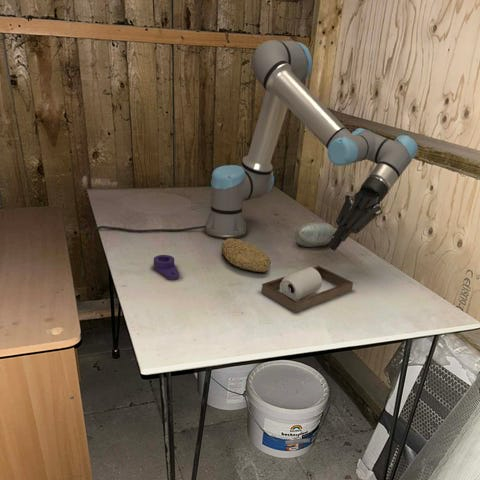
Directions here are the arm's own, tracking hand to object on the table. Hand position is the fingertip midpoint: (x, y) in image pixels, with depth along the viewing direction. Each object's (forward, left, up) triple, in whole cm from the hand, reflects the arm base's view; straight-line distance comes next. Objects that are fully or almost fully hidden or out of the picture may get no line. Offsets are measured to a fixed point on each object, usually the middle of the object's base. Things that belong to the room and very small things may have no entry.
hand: (331, 247), depth 140 cm
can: (-4, -4, -9) cm, 10 cm away
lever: (-49, -2, -13) cm, 50 cm away
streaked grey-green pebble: (-3, +32, -13) cm, 35 cm away
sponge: (-26, +9, -13) cm, 30 cm away
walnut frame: (-6, -6, -12) cm, 15 cm away
